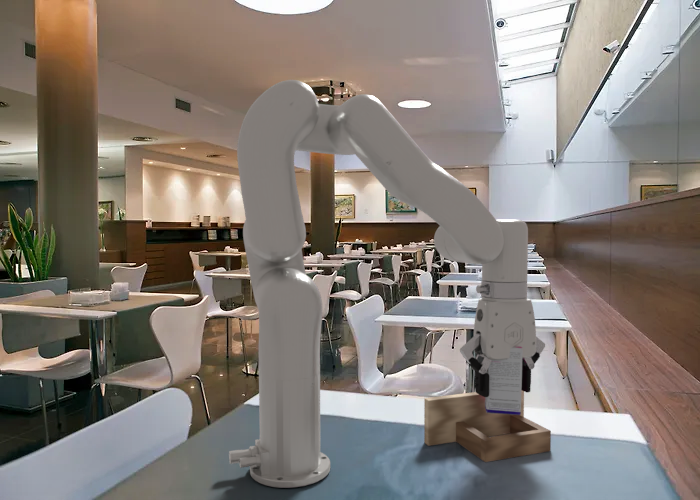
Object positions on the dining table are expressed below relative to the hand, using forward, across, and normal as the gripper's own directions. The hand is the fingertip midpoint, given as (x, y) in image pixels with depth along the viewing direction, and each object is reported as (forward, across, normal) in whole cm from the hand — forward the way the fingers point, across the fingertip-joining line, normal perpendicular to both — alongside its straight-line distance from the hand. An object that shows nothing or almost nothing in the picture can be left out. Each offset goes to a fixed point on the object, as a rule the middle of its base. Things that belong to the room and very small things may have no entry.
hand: (502, 391), depth 95 cm
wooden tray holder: (+10, -2, +1) cm, 10 cm away
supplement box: (+3, 0, 0) cm, 3 cm away
